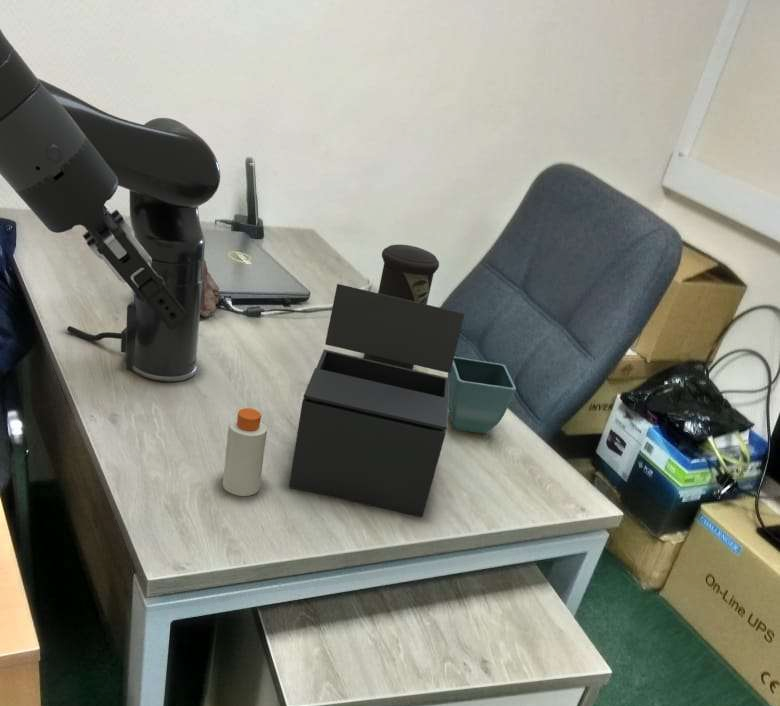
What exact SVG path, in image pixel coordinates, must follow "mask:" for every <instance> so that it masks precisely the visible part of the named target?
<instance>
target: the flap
mask: <svg viewBox="0 0 780 706" xmlns="http://www.w3.org/2000/svg"><path fill="white" fill-rule="evenodd" d="M464 317H465V313H464V312H460V311H456V310H453V309H452V310H451V309H447V308H443V307H438V306H435V305H430V304H427V305H426V304H422V303H418V302H414V301H409V300H405V299H401V298H396V297H392V296H388V295H383V294H379V293H378V292H376V291H375V292H374V291H370V290H366V289H361V288H358V287H353V286H349V285H344V284H340V283H337V284H336V288H335V292H334V298H333V303H332V307H331V312H330V318H329V324H328V328H327V332H326V337H325V343H324V345H326V346H330V347H334V348H339V349H343V350H347V351H351V352H357V353H359V354H363V355H364V354H369V355H373V356H377V357H382V358H386V359H390V360H395V361H399V362H403V363H408V364H412V365H414V366H417V367H421V368H426V369H431V370H434V371H439V372H443V373H447V374H448V373H450V372H451V368H452V364H453V360H454V357H456V356H455V355H456V351H457V348H458V343H459V339H460V335H461V330H462V327H463V322H464Z"/></svg>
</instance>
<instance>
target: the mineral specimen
mask: <svg viewBox="0 0 780 706" xmlns="http://www.w3.org/2000/svg"><path fill="white" fill-rule="evenodd" d="M220 298H221V293H220V287H219V286H218V284H217V283H216V282H215V281H214V278H213V277H212V275H211V274H210V273H209V272H208V267H207V261H206V259H204V264H203V277H202V292H201V305H200V316H202V317H204V318H208V317H212V314H213V313H214V312H215V311H216V310H217V308H216V305H218V303H219V299H220Z"/></svg>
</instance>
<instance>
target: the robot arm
mask: <svg viewBox="0 0 780 706" xmlns="http://www.w3.org/2000/svg"><path fill="white" fill-rule="evenodd" d="M0 176H1V177H2V178H3V179H4V180H5V181H6V182H7V183H8V185H9V187H11V188H12V189H13V191H14V192H15V193H16V194H17V195H18V197H19V198H20V199H21V200H22V201H23V202H24V203H25V204H26V206H27V207H28V208H29V209H30V210H31V211H32V212H33V213H34V215H35V216H36V217H37V218H38V219H39V221H41V223H43V225H44V226H45V227H46V229H47V230H48V231H50V232H52V233H56V234H59V233H65V232H68V231H70V230H72V229H73V228H74V227H77V226H82V227H84V229H85V230H86V232H85V233H84V234H82V238H83V239H84V240H85V241H86V245H87V246H88V247H89V249H90V250H91V251H92V252H93V254H94V255H95V256H97V257H98V258H99V259H100V260H102V261H103V262H104V263H105V264H106V266H107V267H108V268H109V270H111V272H112V273H113V274H114V275H115V277H116V278H117V279H118V280H119V281H120V282H122V283H124V284H127V285H128V287H129V288H130V289H131V290H132V295H131V296H132V298H131V299H132V300H131V301H130V302H129V303H128V304H127V306H126V326H125V328H124V329H123V330H122V331H121V332H114V331H113V332H110V331H107V332H106V331H105V332H100V333H98V334H90V333H88V332H85V331H83V330H80V329H78V328H75V327H73V326H71V325H68V327H67V328H66V330H67V332H69V333H72V334H74V335H75V336H77V337H80V338H83V339H85V340H88V341H93V342H97V341H101V340H103V339H118V340H120V352H121V353H123V354H125V369H127V370H131V371H133V372H134V373H136V374H137V375H138V376H141V377H143V378H146V379H148V380H154V381H159V382H180V381H181V382H182V381H185V380H188V379H191V378H192V377H194V376H195V375H196V373H197V367H198V366H197V365H198V364H197V361H198V345H199V330H200V318H201V317H200V316H201V314H200V305H201V292H202V277H203V264H204V260H205V250H206V249H205V248H206V238H205V237H206V236H205V234H204V232H203V228H202V224H201V220H200V214H199V207H200V206H202V205H204V204H205V203H207V202H208V201H209V200H211V199H212V198H213V197H214V196H215V195H216V192H218V189H219V186H220V183H221V169H220V165H219V161H218V159H217V157H216V155H215V152H214V151H213V149H212V148H211V146H210V145H209V144H208V142H206V141H205V139H203V138H202V137H201V136H200V135H198V133H196V132H194V131H193V130H192V129H191V128H189V127H188V126H187V125H186V124H184V123H183V122H180V121H178V120H177V119H174V118H170V117H157V118H153V119H150V120H148V121H146V122H145V123H144V124H141V123H137V122H135V121H132V120H131V121H130V120H127V119H124V118H121V117H118V116H116V115H113V114H110V113H108V112H106V111H104V110H102V109H100V108H97V107H96V106H94V105H92V104H91V103H88V102H86V101H84V100H83V99H81V98H79V97H77V96H76V95H74V94H71V93H69V92H68V91H65V90H64V89H63V88H62V89H61V88H59V87H58V86H55V85H53V84H51V83H50V82H47V81H45V80H43V79H40V78H38V77H37V75H36V74H35V73H34V72H33V70H32V69H31V68H30V67H29V66H28V64H27V62H25V60H24V59H23V58H22V56H21V55H20V53H19V52H18V51H17V50H16V49H15V47H14V46H13V45H12V43H10V41H9V40H8V38H7V37H6V35H5V34H4V33H3V31H2V29H1V28H0ZM118 187H121V188H122V189H123V188H124V189H126V190H128V191H129V220H130V224H131V225H130V224H129V222H128V221H126V219H125V218H124V216H123V215H122V214H121V213H120V211H119V210H118V209H117V208H116V209H115V210H114V211H112V212H110V210H109V209H108V207H106V206H105V204H106V203H107V202H108V201H110V200H111V199H113V196H114V195H115V193H116V192H117V190H118Z"/></svg>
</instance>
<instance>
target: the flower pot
mask: <svg viewBox="0 0 780 706" xmlns="http://www.w3.org/2000/svg"><path fill="white" fill-rule="evenodd" d="M446 377H447V378H449V389H448V399H449V401H448V414H449V417H450V419H451V423H452V426H453V429H454V430H456V431H461V432H469V433H476V434H484V435H485V434H488V433H489V432H490V431H492V430H493V429H494V428H495V427H496V426H497V425H498V424H499V423H500V422H501V420H502V419H503V418H504V416H505V414H506V412H507V410H508V408H509V406H510V404H511V400H512V399H513V397H514V395H515V392H516V390H517V388H516V385H515V383H514V381H513V379H512V377H511V375H510V373H509V371H508V368H507V366H506V365H505V364H503V363H497V362H492V361H484V360H478V359H472V358H465V357H459V356H454V360H453V364H452V368H451V372H450V373H447V376H446Z"/></svg>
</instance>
